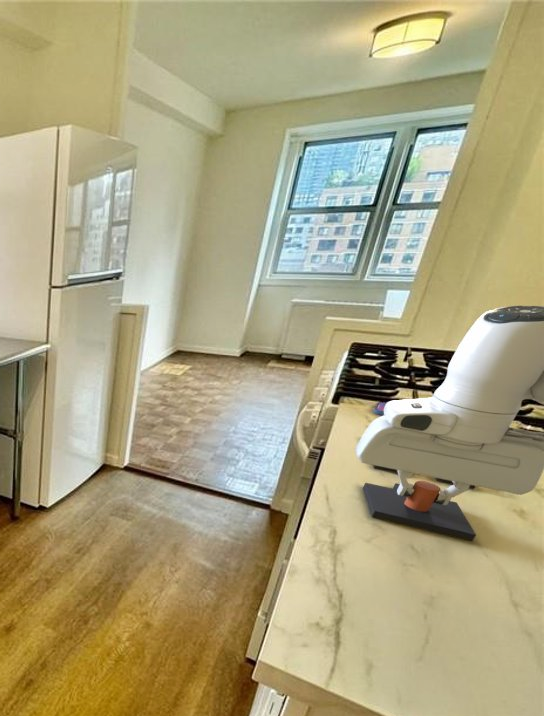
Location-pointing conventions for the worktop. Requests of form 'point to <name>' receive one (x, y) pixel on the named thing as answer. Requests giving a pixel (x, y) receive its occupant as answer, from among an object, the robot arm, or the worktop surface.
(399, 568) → the worktop surface
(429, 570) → the worktop surface
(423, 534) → the worktop surface
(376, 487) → the tab pad
